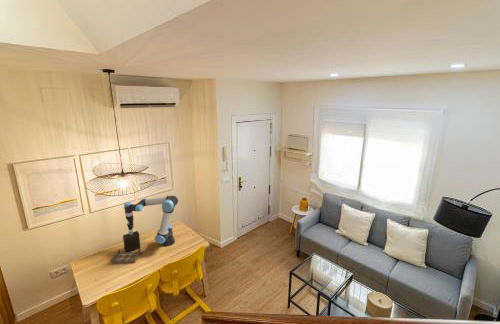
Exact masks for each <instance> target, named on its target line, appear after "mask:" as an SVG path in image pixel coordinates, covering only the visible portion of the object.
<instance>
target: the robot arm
mask: <svg viewBox="0 0 500 324" xmlns="http://www.w3.org/2000/svg"><path fill="white" fill-rule="evenodd" d="M178 204H179V198H178V197H177V196H176V195H167V196H162V197H156V198H149V199H148V198H142V199H141V200H140V201H138V202H137V203H136V204H135V203H134V204H133V203H132V201H126V202H124V204H123V208H124V209H123V210H124V214H125V220H126V221H127V223H126V226H127V228H128V231H129V230H132V231H133V232H134V213H133V212H142V211H143V209H144V207H147V206H148V207H149V206H150V207H151V206H159V205H161V209H162V212H163V213H162V216H161V222H160V226H159V229H157V233H156V235H155V236H154V241H155V242H156V243H157V244H159V245H160V244H161V245H162V247H163V246H164V247H170V246H172V245H174V244H175V243H176V239H175V237H174V234H173V233H174V231H173V225H172V224H170V222H171V216H172V213H174V211H175V207H176V206H177V205H178Z"/></svg>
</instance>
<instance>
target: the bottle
mask: <svg viewBox="0 0 500 324" xmlns="http://www.w3.org/2000/svg"><path fill="white" fill-rule="evenodd" d="M140 238H141V237H140V233H139V231H138V230H136V231H134V230H133V231H132V230H129V229H128V233H126V234H123V235H122V242H123V247H124V252H134V251H135V250H139V249H141V239H140Z"/></svg>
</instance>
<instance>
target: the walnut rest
mask: <svg viewBox="0 0 500 324" xmlns="http://www.w3.org/2000/svg"><path fill="white" fill-rule="evenodd" d="M141 253H142V248H138V249H137V251H130V252H125V251H124V252H121V249H118V250H117V251H116V252H115V254H113V257H112V258H111V259H110V263H111V265H118V264H119V265H120V264H121V265H122V264H136V262H137V261H138V259H139V257H140V255H141Z"/></svg>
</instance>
